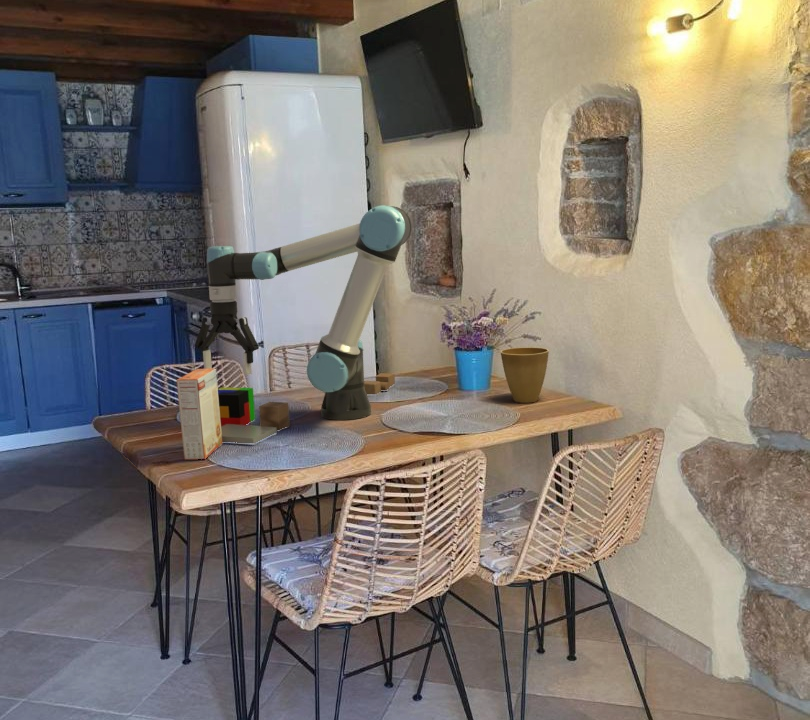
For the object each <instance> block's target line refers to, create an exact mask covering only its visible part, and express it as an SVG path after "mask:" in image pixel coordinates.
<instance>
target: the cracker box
mask: <svg viewBox="0 0 810 720" xmlns="http://www.w3.org/2000/svg"><path fill="white" fill-rule="evenodd" d="M176 388H177V398H178V399H177V400H178V406H179V407H178V409H179V418H180V419H179V420H180V427H181V438H182V447H183V459H184V461H195V460H196V461H197V460H198V459H201V461H203V460H202V459H205V460H207V459H208V458H209V457H208V455H210V454H211V453H212V452H213V451H214V450H215V449H216V448H218V447H219V446H220V445H221V444H222V445H223V443H222V432H221V421H220V410H219V398H218V389H219V388H218V378H217V369H216V368H212V369H204V368H195V369H194V370H192V371H190V372H188V373H187V374H185V375H183V376H181V377H180V378H177V379H176ZM222 445H221V446H222ZM221 446H220V447H221ZM220 447H219V448H220ZM219 448H218V449H219ZM215 451H216V450H215ZM215 451H214V452H215ZM214 452H213V453H214ZM213 453H212V454H213ZM212 454H211V455H212ZM211 455H210V456H211ZM207 457H208V458H207ZM206 458H207V459H206ZM198 461H199V460H198Z"/></svg>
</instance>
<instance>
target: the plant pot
mask: <svg viewBox="0 0 810 720" xmlns="http://www.w3.org/2000/svg"><path fill="white" fill-rule="evenodd" d="M549 352H550V351H549V349H548V348H544V347H533V346H530V347H527V346H526V347H525V346H524V347H511V348H505V349H502V350H500V355H501V356H500V357H501V363H502V367H503V372H504V375H505V378H506V383H507V385H508V389H509V392H510V394H511V396H512V399H513V401H514V402H516V403H520V404H521V403H522V404H524V403H525V404H529V403H531V404H532V403H534V402H537V401H538V400H539V397H540V395H541V392H542V389H543V385H544V381H545V377H546V374H547V373H546V372H547V367H548V363H549V362H548V360H549Z"/></svg>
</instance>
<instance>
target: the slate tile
mask: <svg viewBox="0 0 810 720" xmlns="http://www.w3.org/2000/svg"><path fill="white" fill-rule="evenodd" d="M221 432H222V442H235V443H236V442H237V443H256V442H258V441H260V440H262V439H264V438H266V437H268V436H270V435H272V434H274V433H277V434H278V431H277V429H276V427H265V426H260V425H250V424H249V425H236V424H226V425H224V426H221Z"/></svg>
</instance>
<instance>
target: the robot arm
mask: <svg viewBox="0 0 810 720" xmlns="http://www.w3.org/2000/svg"><path fill="white" fill-rule="evenodd" d="M412 230H413V224H412V220H411V218H410V216H409V214H408V213H407V212H406V210H403V209H402V208H401V207H398V206H393V205H391V206H390V205H388V204H387V205H382V204H381V205H378V206H377V205H376V206H375V207H372V208H371V209H369V210H368V211H367V212H365V214H363V216H362V218H361V220H360V222H359V223H356V224H353V225H350V226H349V225H348V226H346V227H344V228H340V229H336V230H333V231H330V232H327V233H323V234H319V235H317V236H313V237H310V238H305V239H303V240H299V241H296V242H294V243H289V244H286V245H282V246H279V247H275V248H273V249H269V250H264V251H263V250H262V251H257V252H235V250H234V247H233V246H232V245H223V246H222V245H221V246H220V245H219V246H215V245H214V246H209V247H208V248H207V249H206V265H207V276H208V291H209V292H208V293H209V300H210V302H209V307H210V309H209V310H210V311H209V312H210V314H211V316H204V317H202V318H201V326H200V329H199V331H198V334H197V337H196V340H195V343H194V349H198V350H199V351H200V357H201V362H203V369H213V366H212V354H211V349H209V347H210V346H211V345H212V344H213V342H214V340H215V339H216V337H217V336H218V334H230V335H232V336H233V338H234V339H235V340H236V341H237V343H238V344H239V345H240V347H242V349H243V351H244V352H243V353H242V357H243V371H244V372H243V373H244V374H243V375H244V376H249V375H252V373H253V371H252V364H253V363H254V351H256V350H259V349H260V347H259V345H258V343H257V340H256V338H255V336H254V334H253V333H252V329H251V328H250V326H249V322H248V318H247V317H240V318H238V315H237V314H238V302H237V301H236V299H237V285H236V281H237V280H239V281H240V280H260V281H264V280H272V279H274V278H276V277H277V276H279V275H281V274H284V273H288V272H291V271H294V270H297V269H298V270H299V269H301V268H304V267H307V266H311V265H315V264H319V263H322V262H326V261H328V260H332V259H336V258H340V257H342V256H343V257H344V256H347V255H350V254H354V253H357V255H356V258H355V262H354V264H353V267H352V270H351V273H350V275H349V278H348V279H347V280H348V281H347V284H346V286H345V289H344V290H343V291H344V292H343V294H342V297H341V299H340V302H339V305H338V308H337V310H336V313H335V316H334V318H333V321H332V323H331V326H330V329H329V332H328V333H327V334H325V335H323V336H321V338H320V340H319V343H318V346H317V348H316V351H315V354H313V355H312V357H310V359H309V360H308V363H307V366H306V376H307V379H308V381H309V382H310V384H311V385H312V386H313V387H314V388H316V389H317V390H318V391H320V392H324V396H323V400H322V404H321V407H320V408H321V409H320V415H321V417H322V418H324V419H327V420H335V421H337V420H338V421H340V420H341V421H343V420H346V421H347V420H356V419H363V418H365V417H368V416H370V415H371V414H372V405H371V403H370V400H369V396H367V394H366V391H365V388H364V381H365V372H364V371H365V370H364V368H365V367H364V347H363V342H362V341H361V340H360V339H361V336H362V333H363V330H364V328H365V326H366V323H367V319H368V317H369V315H370V312H371V309H372V307H373V305H374V302H375V300H376V296H377V294H378V292H379V288H380V287H381V283H382V282H383V278H384V276H385V274H386V271H387V268H388V266H389V265H392V264H394V263H396V260H397V258H398V255H399V252H400V249H401V246H403V245H404V244H406V243H407V241H408V240H409V238H410V237H411V235H412ZM275 276H276V277H275ZM211 324H212V328H211V329H210V326H211ZM239 327H240V328H239ZM209 329H210V330H209ZM208 332H209V333H208Z"/></svg>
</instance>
